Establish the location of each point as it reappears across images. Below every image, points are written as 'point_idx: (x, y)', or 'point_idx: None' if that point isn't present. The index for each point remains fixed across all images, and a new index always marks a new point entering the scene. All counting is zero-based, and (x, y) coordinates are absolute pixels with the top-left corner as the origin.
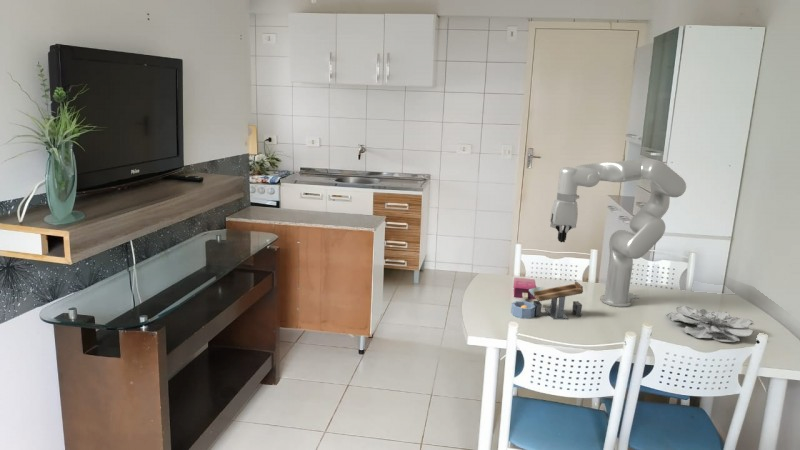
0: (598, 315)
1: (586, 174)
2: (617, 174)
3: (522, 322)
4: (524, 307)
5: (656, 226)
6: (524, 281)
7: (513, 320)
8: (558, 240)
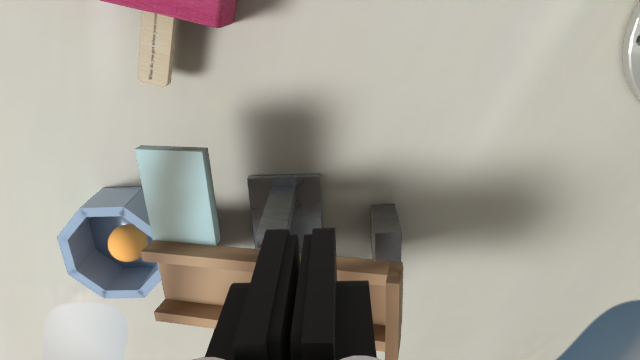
0: (487, 227)
1: None
2: None
3: (123, 307)
4: (121, 260)
5: None
6: None
7: (89, 291)
8: (268, 233)
